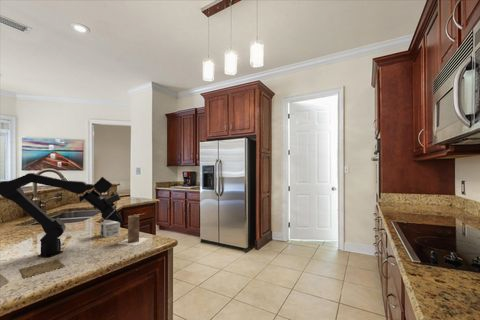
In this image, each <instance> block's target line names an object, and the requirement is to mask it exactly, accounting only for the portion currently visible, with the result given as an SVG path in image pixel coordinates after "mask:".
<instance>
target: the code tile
mask: <svg viewBox="0 0 480 320" xmlns="http://www.w3.org/2000/svg"><path fill="white" fill-rule="evenodd" d="M146 240H149V237H139V242H133V243H128V238H126V239H124V240H122V241H119V242H118V243H117V245H128V246H137V245H140V244H142V243H144V242H145V241H146Z"/></svg>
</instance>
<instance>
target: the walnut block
mask: <svg viewBox="0 0 480 320" xmlns="http://www.w3.org/2000/svg"><path fill="white" fill-rule="evenodd" d="M127 217H128V218H127V219H128V220H127V224H128V225H127V239H128V243H133V242H139V238H140V215H139V214H134V215H133V214H132V215H128V216H127Z"/></svg>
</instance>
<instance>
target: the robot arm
mask: <svg viewBox="0 0 480 320" xmlns="http://www.w3.org/2000/svg"><path fill="white" fill-rule="evenodd" d="M31 183H34V184H38V185H44V186H48V187H55V188H59V189H63V190H66V191H68V192H71V193H72V194H76V195H79V196H78V198H79V200H78V201H79V202H80V203H82V202H83V201H86V202H87V203H89V204H90V205H91V206H92V207H93V208H94V209H96V210H97V211H99V213H100V214H101V219H103V220H104V219H106V220H111V221H116V222H120V224H122V223H123V222H124V220H123V216H122V215H121V214H120V213H119V211H118V210H117V205H116V202H117V201H120V200H121V196H120V195H119V193H118V192H117V193H115V192H112V193H111V194H110V196H108V197H106V196H102V194H107V192H108V191H110V189H111V188H113V186H114V184H113V183H112V182H111V181H110V180H107V179H106V178H104V176H101V177H100V178H99V179H98V180H97V181H96V182H95V183H94V184H93V183H91V184H90V183H87V182H86V181H81V180H79V181H78V180H66V179H60V178H57V177H51V176H46V175H42V174H39V173H38V174H37V173H35V172H30V173H29V172H28V173H26V174H25V175H22V176H19V177H16V178H14V179H12V180H3V181H0V196H1V197H2V198H4V199H7V200H8V201H11V202H13V203H15V204H16V205H17V206H18V207H20V209H22V211H24V212H25V213H27V214H28V215H29V216H30V217H31V218H33V219H34V221H36V222H37V223H38V224H39V225H40V226H41V228H42V230H43V232H44V235H43V236H42V237H41V238H40V240H39V242H40V254H38V255H37V257H43V258H51V257H53V256H56V255H59V254H61V253H63V252H64V250H62V249H61V248H62V241H61V238H60V237H62V235H63V234H65V230H66V222H64V221H62V219H61V218H60V217H56V218H53V217H51V216H49V215H48V214H47V213H46V212H45V211H44V210H43V209H42V208H41V207H39V206H38V205H37V204H36V202H34V201H33V200H31V198H29V197H28V196H27V195H26V193H25V191H24V190H23V188H22V187H25V186H27V185H29V184H31ZM90 190H91V191H90ZM82 194H83V195H82Z"/></svg>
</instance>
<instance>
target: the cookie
mask: <svg viewBox="0 0 480 320" xmlns="http://www.w3.org/2000/svg"><path fill="white" fill-rule="evenodd" d="M63 267H65V268H66V266H65V265H64V264H63V263H62V262H61V261H60V260H59V259H58V258H57V259H54V260H50V261H46V262H42V263H37V264H33V265H30V266H27V267H23V268H19V272H20V274H21V275H22V278H23V279H25V278H26V279H28V278H33V277H37V276H39V274H40V275H42V273H44V274H46V272H47V273H51V272H53V270H54V271H57V270H56V269H58V270H61V269H64V268H63ZM60 268H61V269H60ZM36 275H37V276H36ZM32 276H33V277H32ZM26 279H25V280H26Z"/></svg>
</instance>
